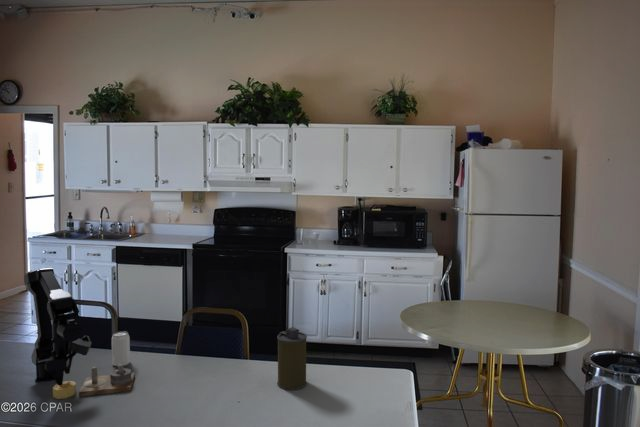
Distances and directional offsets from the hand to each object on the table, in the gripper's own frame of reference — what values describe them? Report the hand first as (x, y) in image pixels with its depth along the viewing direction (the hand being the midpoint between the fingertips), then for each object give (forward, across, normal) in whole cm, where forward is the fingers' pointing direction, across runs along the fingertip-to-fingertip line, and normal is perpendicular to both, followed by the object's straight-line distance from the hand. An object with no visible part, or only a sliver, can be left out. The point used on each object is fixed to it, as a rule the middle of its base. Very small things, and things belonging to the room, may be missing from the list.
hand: (64, 379), depth 157 cm
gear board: (+5, +3, -13) cm, 14 cm away
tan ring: (+5, 0, 0) cm, 5 cm away
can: (+5, +23, -14) cm, 28 cm away
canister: (+5, -11, -76) cm, 77 cm away
